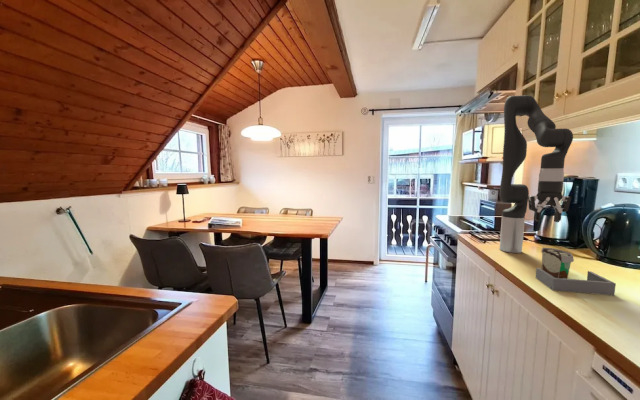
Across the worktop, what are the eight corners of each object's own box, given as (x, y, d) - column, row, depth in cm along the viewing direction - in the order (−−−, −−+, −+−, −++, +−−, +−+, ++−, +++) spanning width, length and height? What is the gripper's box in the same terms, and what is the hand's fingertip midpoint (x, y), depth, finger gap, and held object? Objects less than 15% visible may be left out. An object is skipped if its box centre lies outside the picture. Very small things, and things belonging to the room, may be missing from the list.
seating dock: (535, 278, 100) (536, 267, 100) (590, 282, 96) (591, 271, 96) (552, 290, 90) (553, 278, 90) (614, 295, 86) (615, 283, 86)
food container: (580, 285, 94) (583, 257, 93) (560, 284, 95) (563, 256, 94) (557, 272, 106) (559, 247, 105) (539, 271, 107) (541, 246, 106)
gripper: (565, 179, 108) (561, 220, 110) (525, 179, 112) (521, 219, 114) (579, 180, 101) (574, 224, 103) (535, 180, 104) (531, 222, 106)
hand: (546, 221), depth 108 cm, fingers open, 6 cm apart
